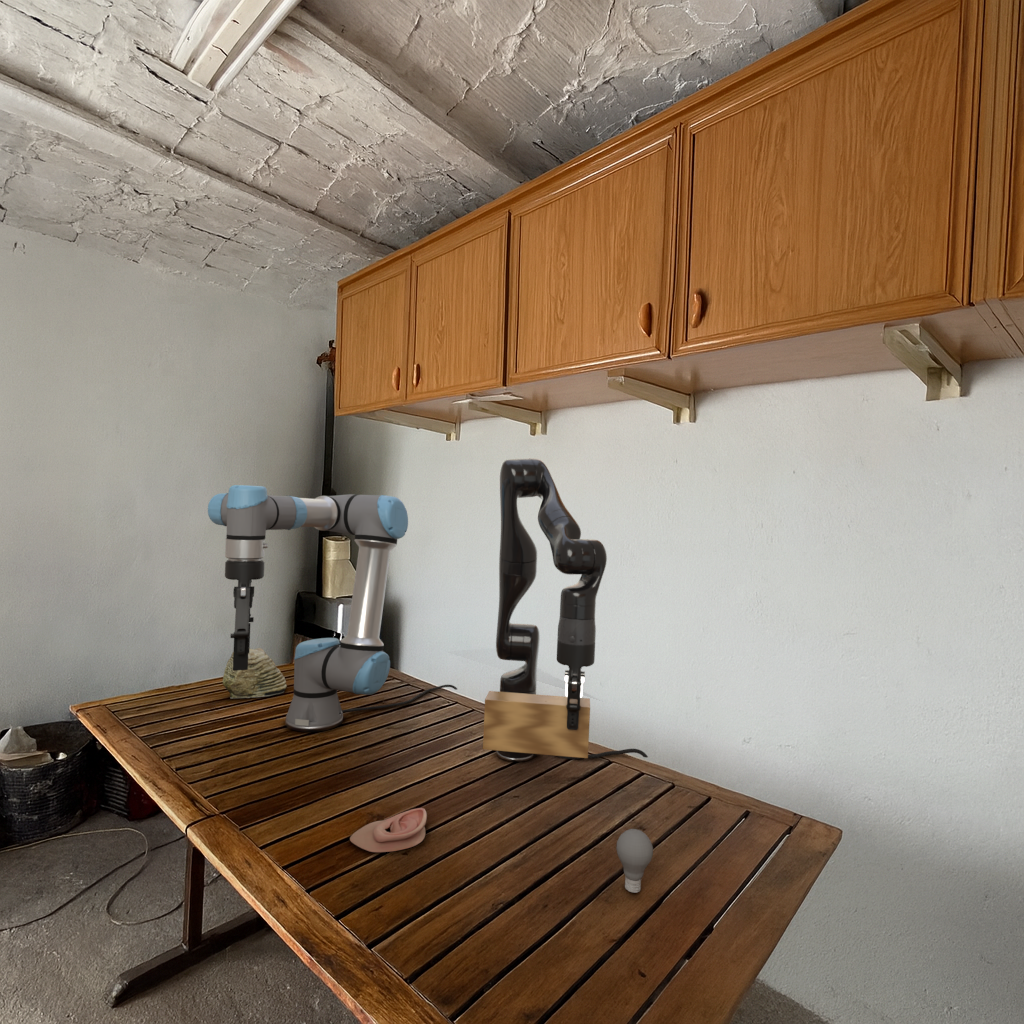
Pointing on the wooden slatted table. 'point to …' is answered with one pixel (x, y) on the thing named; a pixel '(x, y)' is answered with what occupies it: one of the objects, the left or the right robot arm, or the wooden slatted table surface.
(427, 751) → the wooden slatted table surface
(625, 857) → the light bulb
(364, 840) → the anatomical model
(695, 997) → the wooden slatted table surface
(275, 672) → the fossil
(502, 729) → the box
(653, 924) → the wooden slatted table surface
